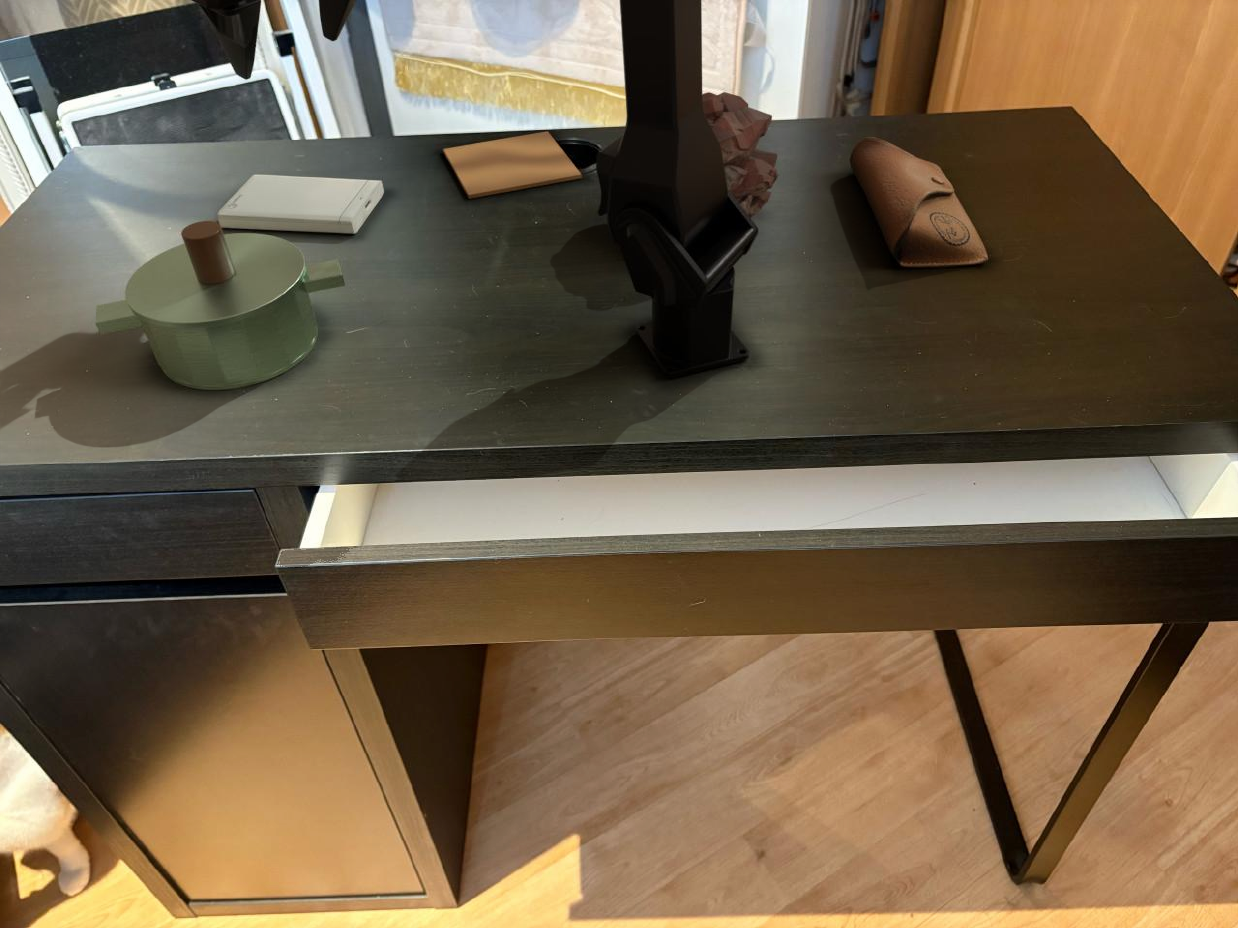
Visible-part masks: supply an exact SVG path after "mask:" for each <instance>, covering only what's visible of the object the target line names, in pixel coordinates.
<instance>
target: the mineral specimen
mask: <svg viewBox="0 0 1238 928" xmlns="http://www.w3.org/2000/svg"><path fill="white" fill-rule="evenodd" d="M702 103H703V110H704V114H705V116H706V118H707V120H708V122H709V124H710V126H711V128H712V130H713V132H714V134H715V136H716V137H717V139H718V141H719V143H720V146H721V150H722V157H723V163H724V169H725V176H726V182H727V188H728V190H729V191H730V192H731V193H732V195H733V196H734V197H735V199H736V200H737V201H738V203H739V204H740V205H741V206H742V208H743V209H744V210H745V212H746V213H747V214H748V216H749V217H750V218H751V219H752V218H753V217H754V216H756V214H757V213H759V212H760V211H761V210H762V209H763V207H764V206H765V205H766V203H768V202H769V199H770V197H771V195H772V191H768V190H771V189H772V188H773V186H774V183H776V181H777V180H778V177H779V173H778V170H777V169H776V168H775V166H776V164H777V161H778V153H775V152H771V151H766V150H762V149H758V148H757V146H758V144H759V142H760V140H761V138H762V137H764V136H766V134H767V131H768V129H769V127H770V125H771V122H772V121H773V115H771V114H769V113H766V112H764V111H761V110H757V109H755V108H752V107H750V106H749V103H748V102H747V101H746V100H745V99H744V98H743V97H742V96H740V95H737V94H734V93H730V92H726V91H723V92H720V93H719V94H716V93H713V92H710V91H707V92H704V93H702Z"/></svg>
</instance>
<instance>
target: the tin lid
mask: <svg viewBox="0 0 1238 928" xmlns="http://www.w3.org/2000/svg"><path fill="white" fill-rule="evenodd" d="M180 235H181V239H182V241H183V243H182V244H179V245H176V246H174V247H172V248H168V249H167V250H164V251H163V252H161V253H158V254H156V255H155V256H153V257H152V258H150V259H149V260H148V261H146V262H144V263H143V264H141V266H139V268H137V269H136V271H134V273H133V274H131V276H130V278H129V279H128V281H127V283H126V285H125V291H124V298H125V300H126V301H127V303H128V305H129V308H130V309H131V311H132V312H133V313H134V314H135V315H136V316H138V317H139V318H140V319H142V320H144V321H146V322H149V323H151V324H154V325H158V326H163V327H170V328H183V329H190V328H205V327H213V326H219V325H225V324H229V323H233V322H237V321H240V320H243V319H247V318H249V317H252V316H255V315H257V314H260V313H262V312H264V311H266V310H268V309H270V308H272V307H274V306H276V305H277V304H279V303H280V302H282V301H283V300H285V299H286V298H288V297H289V296H290V295H291V294H292V293H293V292H294V291H295V290H296V289H297V288H298V287H299V286H300V284H301V283H302V281H303V279H304V277H305V274H306V265H307V264H306V259H305V256H304V253H303V252H302V251H301V250H300V248H299V247H298V246H296V244H294V243H292V242H290V241H289V240H286V239H284V238H282V237H278V236H275V235H270V234H269V235H268V234H264V233H257V232H255V233H252V232H240V233H238V232H235V233H225V234H224V231H223V228H222V227H221V226H220V224H219V222H217V221H213V220H202V221H197V222H193V223H191V224H188V225H187V226H185V227H184V228H183V229H182V230H181V232H180Z"/></svg>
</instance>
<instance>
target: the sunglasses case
mask: <svg viewBox="0 0 1238 928" xmlns="http://www.w3.org/2000/svg"><path fill="white" fill-rule="evenodd" d="M849 165H850V168H851V170H852V173H853V175H854V176H855V178H856V180H857V181H858V183H859V186H860V187H861V189H862V191H863V192H864V195H865V198H866V200H867V202H868V204H869V207H870V208H871V210H872V212H873V215H874V217H875V219H876V222H877V224H878V226H879V228H880V231H881V233H882V236H883V238H884V241H885V243H886V245H887V247H888V250H889V252H890V254H891V255H892V256H893V257H894V259H895V260H896V262H897V263H898V265H900V266H901V267H903V268H908V269H909V268H917V269H919V268H920V269H942V268H943V269H944V268H955V267H956V268H957V267H964V266H973V265H979V264H980V265H981V264H983V263H985V262H987V261H988V260H989V255H988V252H987V249H986V248H985V245H984V243H983V241H982V239H981V237H980V235H979V233H978V231H977V229H976V227H975V225H974V224H973V222H972V220H971V218H970V217H969V216H968V214H967V212H966V210H965V209H964V206H963V205H962V203H961V201H960V200H959V198H958V197H957V195H956V193H955V189H954V187H953V185H952V183H951V181H949V179H948V178H947V177H946V176H945V173H944V172H943V171H942V168H941V167H940V166H938V164H936V163H934V162H932V161H928V160H924V159H922V158H919V157H916V156H915V155H913V154H912V153H910V152H908V151H906V150H904V149H903V148H900V147H898V146H897V145H895V144H892V143H890V142H888V141H886V140H883V139H881V138H877V137H874V136H869V137H868V136H867V137H865V138H863V139H862V140H860V141H859V142H858V143H857V144H856V145H855V146H854V147H853V149H852V151H851V153H850V157H849Z"/></svg>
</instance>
